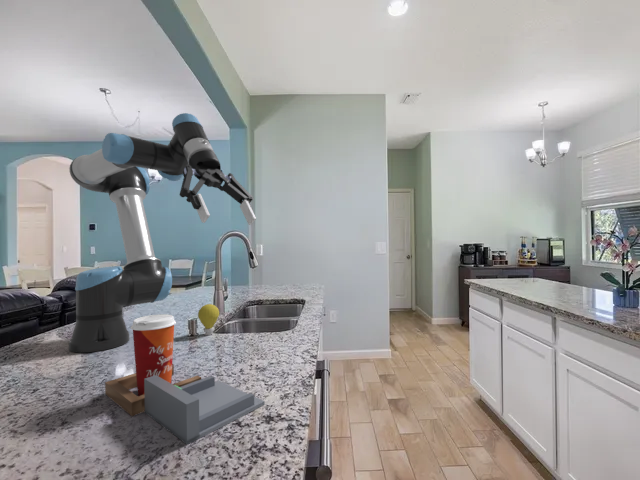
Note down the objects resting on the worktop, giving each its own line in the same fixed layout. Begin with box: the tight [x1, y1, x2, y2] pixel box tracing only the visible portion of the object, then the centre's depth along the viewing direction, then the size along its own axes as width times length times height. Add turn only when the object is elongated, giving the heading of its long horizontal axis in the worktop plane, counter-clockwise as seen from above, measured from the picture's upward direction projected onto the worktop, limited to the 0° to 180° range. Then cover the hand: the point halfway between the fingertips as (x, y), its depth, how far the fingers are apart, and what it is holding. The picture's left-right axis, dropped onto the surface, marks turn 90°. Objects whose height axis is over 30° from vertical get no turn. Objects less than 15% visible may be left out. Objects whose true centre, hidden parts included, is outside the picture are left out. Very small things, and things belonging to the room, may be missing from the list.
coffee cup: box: [130, 313, 177, 396], centre depth 65 cm, size 8×8×15 cm
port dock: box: [144, 375, 266, 446], centre depth 58 cm, size 15×15×6 cm
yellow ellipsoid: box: [197, 303, 220, 336], centre depth 106 cm, size 7×7×10 cm
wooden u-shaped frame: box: [104, 363, 202, 417], centre depth 65 cm, size 13×14×2 cm
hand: (231, 220), depth 79 cm, fingers open, 13 cm apart
